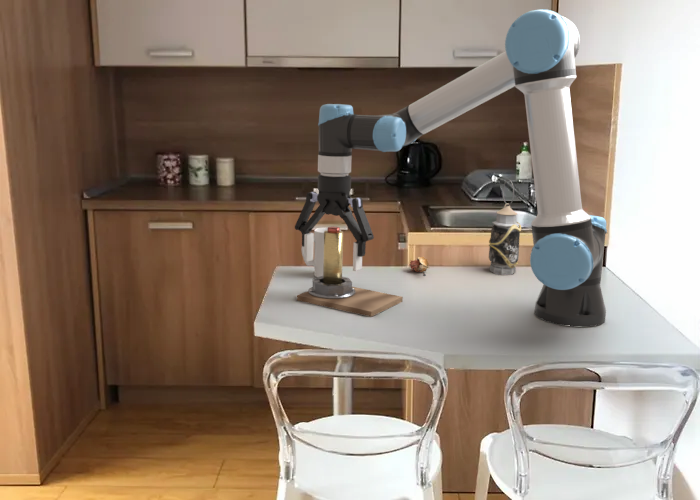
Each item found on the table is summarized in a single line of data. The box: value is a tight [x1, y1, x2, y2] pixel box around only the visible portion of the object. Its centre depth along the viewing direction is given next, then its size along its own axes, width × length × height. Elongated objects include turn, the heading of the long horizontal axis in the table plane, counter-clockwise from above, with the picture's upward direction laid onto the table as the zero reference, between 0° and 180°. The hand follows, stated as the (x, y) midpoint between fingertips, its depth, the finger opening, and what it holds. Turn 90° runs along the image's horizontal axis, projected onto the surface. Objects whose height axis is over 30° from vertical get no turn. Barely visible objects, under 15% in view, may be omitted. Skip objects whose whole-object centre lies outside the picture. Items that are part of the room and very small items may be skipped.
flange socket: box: [307, 276, 356, 299], centre depth 180 cm, size 11×11×3 cm
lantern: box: [488, 179, 522, 276], centre depth 205 cm, size 9×8×25 cm
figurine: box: [408, 256, 430, 277], centre depth 203 cm, size 14×5×4 cm, turn 26°
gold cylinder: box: [323, 226, 344, 284], centre depth 178 cm, size 4×4×15 cm
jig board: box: [296, 286, 404, 317], centre depth 178 cm, size 20×14×1 cm
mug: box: [301, 227, 342, 278], centre depth 197 cm, size 10×7×12 cm, turn 104°
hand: (332, 265), depth 178 cm, fingers open, 13 cm apart
